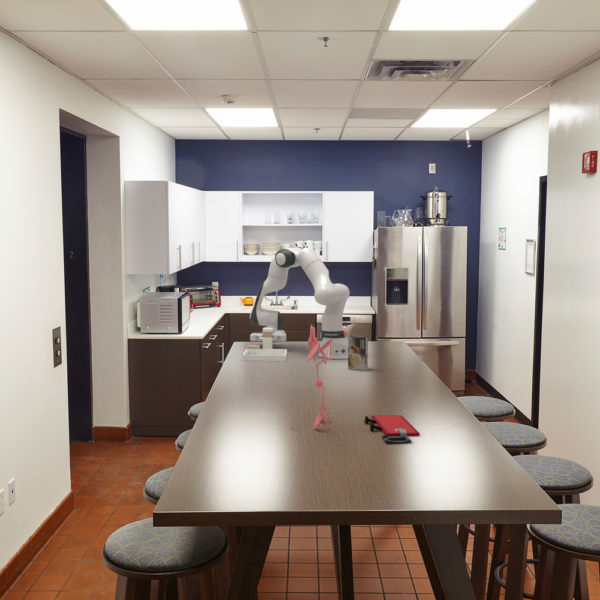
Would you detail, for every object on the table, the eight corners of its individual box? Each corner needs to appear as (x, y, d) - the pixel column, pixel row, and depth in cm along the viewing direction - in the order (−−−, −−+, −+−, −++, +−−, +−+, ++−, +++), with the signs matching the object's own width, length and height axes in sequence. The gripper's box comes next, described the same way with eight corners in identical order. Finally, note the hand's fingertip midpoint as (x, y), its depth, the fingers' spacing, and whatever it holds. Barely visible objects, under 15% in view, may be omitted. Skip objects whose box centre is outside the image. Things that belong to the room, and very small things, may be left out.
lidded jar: (260, 357, 345) (260, 344, 345) (259, 359, 339) (259, 346, 338) (248, 357, 345) (248, 344, 345) (246, 359, 339) (246, 346, 338)
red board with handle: (380, 444, 208) (426, 444, 210) (380, 436, 208) (426, 435, 210) (361, 419, 238) (401, 419, 240) (361, 411, 238) (401, 411, 239)
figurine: (335, 414, 241) (334, 320, 238) (329, 436, 216) (328, 331, 212) (294, 413, 243) (292, 320, 240) (283, 435, 218) (281, 330, 214)
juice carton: (272, 352, 364) (272, 327, 362) (271, 354, 359) (272, 329, 357) (263, 352, 364) (263, 327, 362) (262, 354, 359) (262, 329, 357)
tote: (287, 356, 353) (287, 349, 353) (285, 363, 335) (285, 355, 335) (246, 356, 353) (246, 348, 353) (242, 362, 335) (242, 355, 335)
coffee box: (368, 367, 325) (368, 335, 324) (365, 370, 319) (366, 337, 318) (350, 366, 328) (350, 334, 326) (347, 369, 322) (347, 336, 320)
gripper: (250, 329, 373) (248, 333, 359) (286, 330, 373) (285, 333, 359) (250, 340, 374) (248, 344, 360) (286, 341, 373) (285, 345, 360)
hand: (267, 339), depth 359 cm, fingers closed on juice carton, 5 cm apart
